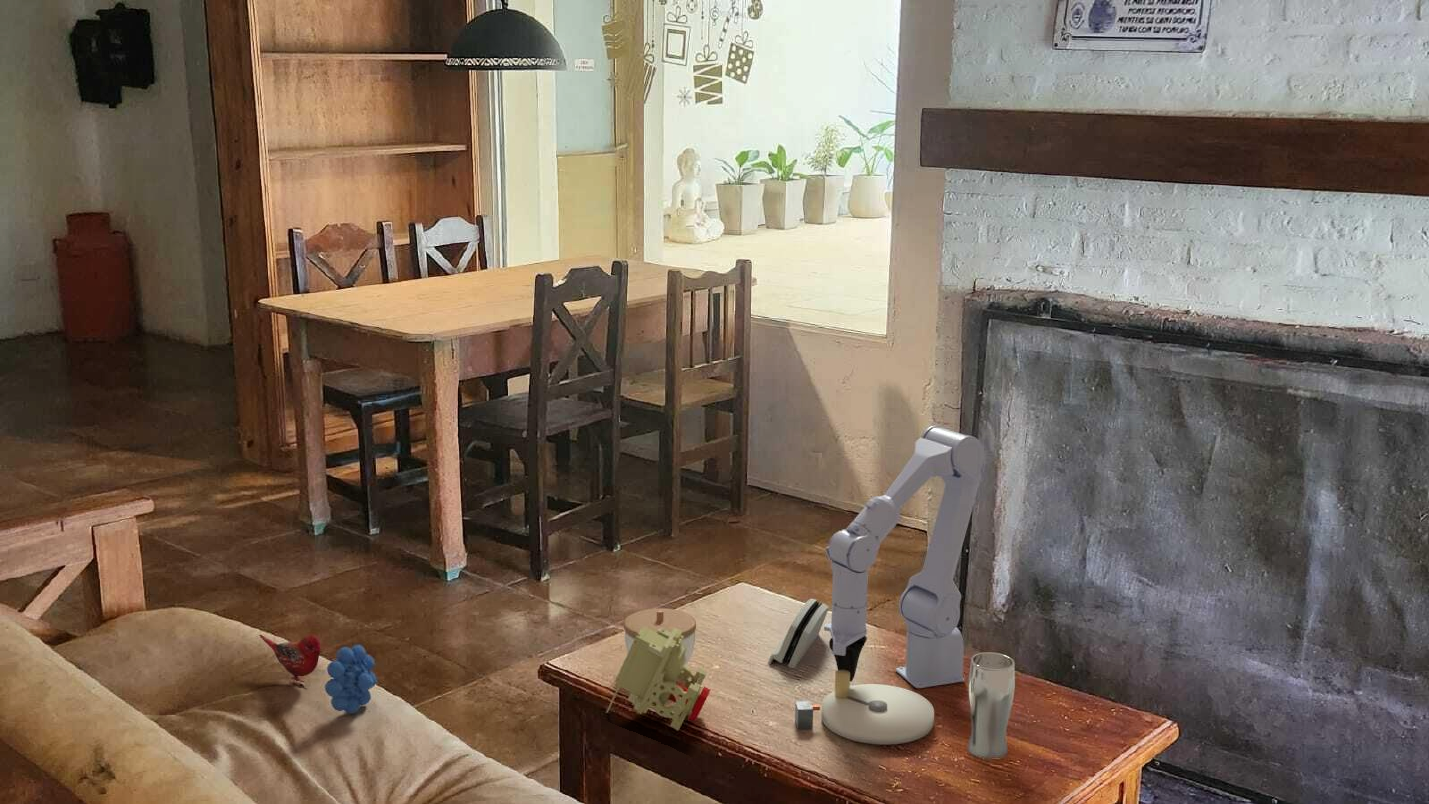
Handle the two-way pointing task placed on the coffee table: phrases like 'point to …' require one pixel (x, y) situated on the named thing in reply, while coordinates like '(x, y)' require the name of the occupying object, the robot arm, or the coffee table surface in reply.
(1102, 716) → the coffee table surface
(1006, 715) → the beer glass
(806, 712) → the gray block
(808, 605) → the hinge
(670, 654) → the mechanical component
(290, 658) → the decorative bird figurine
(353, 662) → the grapes
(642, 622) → the lidded bowl
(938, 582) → the robot arm
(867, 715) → the turntable
